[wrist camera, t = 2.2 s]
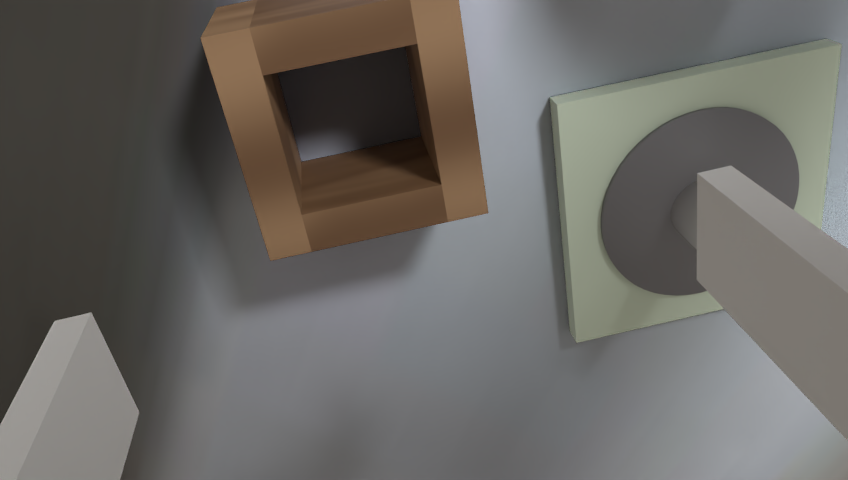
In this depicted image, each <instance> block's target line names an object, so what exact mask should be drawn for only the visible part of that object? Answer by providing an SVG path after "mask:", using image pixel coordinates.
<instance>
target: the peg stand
mask: <svg viewBox="0 0 848 480" xmlns="http://www.w3.org/2000/svg"><path fill="white" fill-rule="evenodd" d="M841 46H842V44H840V43H837V42H835V41H832V40H829V39H822V40H817V41H813V42H808V43H803V44H798V45H794V46H789V47H784V48H780V49H775V50H770V51H765V52H761V53H756V54H751V55H747V56H742V57H737V58H732V59H728V60H723V61H718V62H714V63H709V64H704V65H699V66H695V67H690V68H685V69H681V70H676V71H671V72H666V73H662V74H657V75H652V76H648V77H643V78H638V79H633V80H629V81H624V82H619V83H615V84H610V85H605V86H601V87H596V88H591V89H586V90H582V91H577V92H572V93H568V94H563V95H558V96H553V97H550V107H551V119H552V130H553V142H554V154H555V165H556V177H557V188H558V200H559V212H560V223H561V235H562V247H563V258H564V270H565V282H566V293H567V305H568V316H569V328H570V332H571V334H572V336H573V338H574V339H575V341H576V343H579V342H583V341H587V340H592V339H596V338H600V337H605V336H609V335H613V334H618V333H622V332H626V331H631V330H635V329H639V328H644V327H648V326H652V325H657V324H661V323H665V322H670V321H674V320H679V319H683V318H687V317H692V316H696V315H700V314H705V313H709V312H713V311H718V310H722V309H724V308H723V307H722V306H721V305H720V304H719V303H718V302H717V301H716V300H715V299H714V298H713V297H712V296H711V294H710V293H709V292H708V291H707V290H706V289H705V288H704V287H703V286H702V285H701V284H700V283H699V282H698V281H697V173H700V172H704V171H709V170H713V169H718V168H722V167H726V166H733V167H734V168H735V169H737V170H738V171H740V172H741V173H742V174H744V175H745V176H747V177H748V178H749V179H751V180H752V181H754V182H755V183H756V184H758V185H759V186H760V187H762V188H763V189H765V190H766V191H767V192H769V193H770V194H772V195H773V196H774V197H776V198H777V199H779V200H780V201H781V202H783V203H784V204H786V205H787V206H788V207H790V208H791V209H793V210H794V211H795V212H797V213H798V214H800V215H801V216H802V217H804V218H805V219H807V220H808V221H809V222H811V223H812V224H813V225H815V226H816V227H818V228H819V229H820V230H821V226H822V217H823V208H824V199H825V190H826V181H827V172H828V163H829V154H830V145H831V136H832V127H833V118H834V109H835V100H836V91H837V82H838V73H839V64H840V55H841Z"/></svg>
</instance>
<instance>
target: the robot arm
mask: <svg viewBox="0 0 848 480" xmlns="http://www.w3.org/2000/svg"><path fill="white" fill-rule="evenodd" d="M697 281H698V282H699V283H700V284H701V285H702V286H703V287H704V288H705V289H706V290H707V291H708V292H709V293H710V294H711V296H712V297H713V298H714V299H715V300H716V301H717V302H718V303H719V304H720V305H721V306H722V307H723V308H724V309H725V310H726V312H727V313H728V314H729V315H730V316H731V317H732V318H733V319H734V320H735V321H736V322H737V323H738V324H739V325H740V326H741V328H742V329H743V330H744V331H745V332H746V333H747V334H748V335H749V336H750V337H751V338H752V339H753V340H754V341H755V342H756V344H757V345H758V346H759V347H760V348H761V349H762V350H763V351H764V352H765V353H766V354H767V355H768V356H769V357H770V358H771V359H772V361H773V362H774V363H775V364H776V365H777V366H778V367H779V368H780V369H781V370H782V371H783V372H784V373H785V374H786V375H787V377H788V378H789V379H790V380H791V381H792V382H793V383H794V384H795V385H796V386H797V387H798V388H799V389H800V390H801V391H802V393H803V394H804V395H805V396H806V397H807V398H808V399H809V400H810V401H811V402H812V403H813V404H814V405H815V406H816V407H817V409H818V410H819V411H820V412H821V413H822V414H823V415H824V416H825V417H826V418H827V419H828V420H829V421H830V422H831V423H832V424H833V426H834V427H835V428H836V429H837V430H838V431H839V432H840V433H841V434H842V435H843V436H844V437H845V438H846V439H847V440H848V249H847V248H846V247H844V246H843V245H841V244H840V243H839V242H837V241H836V240H834V239H833V238H832V237H830V236H829V235H827V234H826V233H825V232H823V231H822V230H820V229H819V228H818V227H816V226H815V225H813V224H812V223H811V222H809V221H808V220H807V219H805V218H804V217H802V216H801V215H800V214H798V213H797V212H795V211H794V210H793V209H791V208H790V207H788V206H787V205H786V204H784V203H783V202H781V201H780V200H779V199H777V198H776V197H774V196H773V195H772V194H770V193H769V192H767V191H766V190H765V189H763V188H762V187H760V186H759V185H758V184H756V183H755V182H754V181H752V180H751V179H749V178H748V177H747V176H745V175H744V174H742V173H741V172H740V171H738V170H737V169H735V168H734V167H733V166H726V167H722V168H718V169H713V170H709V171H704V172H700V173H697ZM138 415H139V411H138V408H137V406H136V404H135V402H134V400H133V398H132V396H131V394H130V392H129V390H128V388H127V386H126V383H125V381H124V379H123V377H122V375H121V373H120V371H119V369H118V367H117V365H116V363H115V361H114V359H113V356H112V354H111V352H110V350H109V348H108V346H107V344H106V342H105V340H104V338H103V336H102V334H101V332H100V329H99V327H98V325H97V323H96V321H95V319H94V317H93V315H92V313H87V314H83V315H79V316H74V317H70V318H66V319H61V320H57V321H54V323H53V325H52V327H51V329H50V330H49V332H48V334H47V336H46V338H45V340H44V342H43V344H42V346H41V348H40V350H39V352H38V354H37V355H36V357H35V359H34V361H33V363H32V365H31V367H30V369H29V371H28V373H27V375H26V377H25V378H24V380H23V382H22V384H21V386H20V388H19V390H18V392H17V394H16V396H15V398H14V400H13V401H12V403H11V405H10V407H9V409H8V411H7V413H6V415H5V417H4V419H3V421H2V423H1V424H0V480H120V478H121V475H122V471H123V468H124V464H125V461H126V457H127V454H128V450H129V447H130V443H131V440H132V436H133V433H134V429H135V426H136V422H137V419H138Z"/></svg>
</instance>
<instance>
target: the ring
mask: <svg viewBox="0 0 848 480" xmlns="http://www.w3.org/2000/svg"><path fill="white" fill-rule="evenodd" d="M201 41H202V44H203V48H204V51H205V54H206V57H207V60H208V63H209V67H210V70H211V73H212V76H213V79H214V83H215V86H216V89H217V92H218V95H219V99H220V102H221V105H222V108H223V111H224V115H225V118H226V121H227V124H228V127H229V130H230V134H231V137H232V140H233V143H234V146H235V150H236V153H237V156H238V159H239V162H240V166H241V169H242V172H243V175H244V178H245V182H246V185H247V188H248V191H249V194H250V197H251V201H252V204H253V207H254V210H255V213H256V217H257V220H258V223H259V226H260V229H261V233H262V236H263V239H264V242H265V245H266V249H267V252H268V255H269V258H270V261H272V260H277V259H281V258H286V257H290V256H295V255H299V254H304V253H309V252H313V251H318V250H322V249H327V248H331V247H336V246H340V245H345V244H350V243H354V242H359V241H363V240H368V239H372V238H377V237H381V236H386V235H391V234H395V233H400V232H404V231H409V230H413V229H418V228H422V227H427V226H432V225H436V224H441V223H445V222H450V221H454V220H459V219H463V218H468V217H473V216H477V215H482V214H486V213H488V207H487V200H486V193H485V186H484V178H483V171H482V164H481V157H480V150H479V143H478V135H477V128H476V121H475V114H474V107H473V100H472V92H471V85H470V78H469V71H468V64H467V56H466V49H465V42H464V35H463V28H462V21H461V13H460V6H459V0H251V1H246V2H241V3H237V4H232V5H227V6H222V7H217V8H216V10H215V12H214V14H213V16H212V17H211V19H210V21H209V23H208V25H207V27H206V29H205V31H204V32H203V34H202V36H201ZM404 46H405V49H406V55H407V61H408V66H409V72H410V77H411V83H412V88H413V94H414V100H415V105H416V111H417V116H418V122H419V127H420V133H421V136H420V137H416V138H411V139H406V140H402V141H397V142H392V143H388V144H383V145H378V146H373V147H369V148H364V149H359V150H355V151H350V152H345V153H341V154H336V155H331V156H327V157H322V158H317V159H312V160H308V161H303V162H301V159H300V155H299V152H298V148H297V144H296V140H295V137H294V133H293V129H292V126H291V122H290V118H289V114H288V111H287V107H286V103H285V100H284V96H283V92H282V88H281V85H280V81H279V77H278V72H283V71H288V70H293V69H298V68H302V67H307V66H312V65H317V64H322V63H327V62H332V61H336V60H341V59H346V58H351V57H356V56H361V55H365V54H370V53H375V52H380V51H385V50H390V49H395V48H399V47H404Z"/></svg>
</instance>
